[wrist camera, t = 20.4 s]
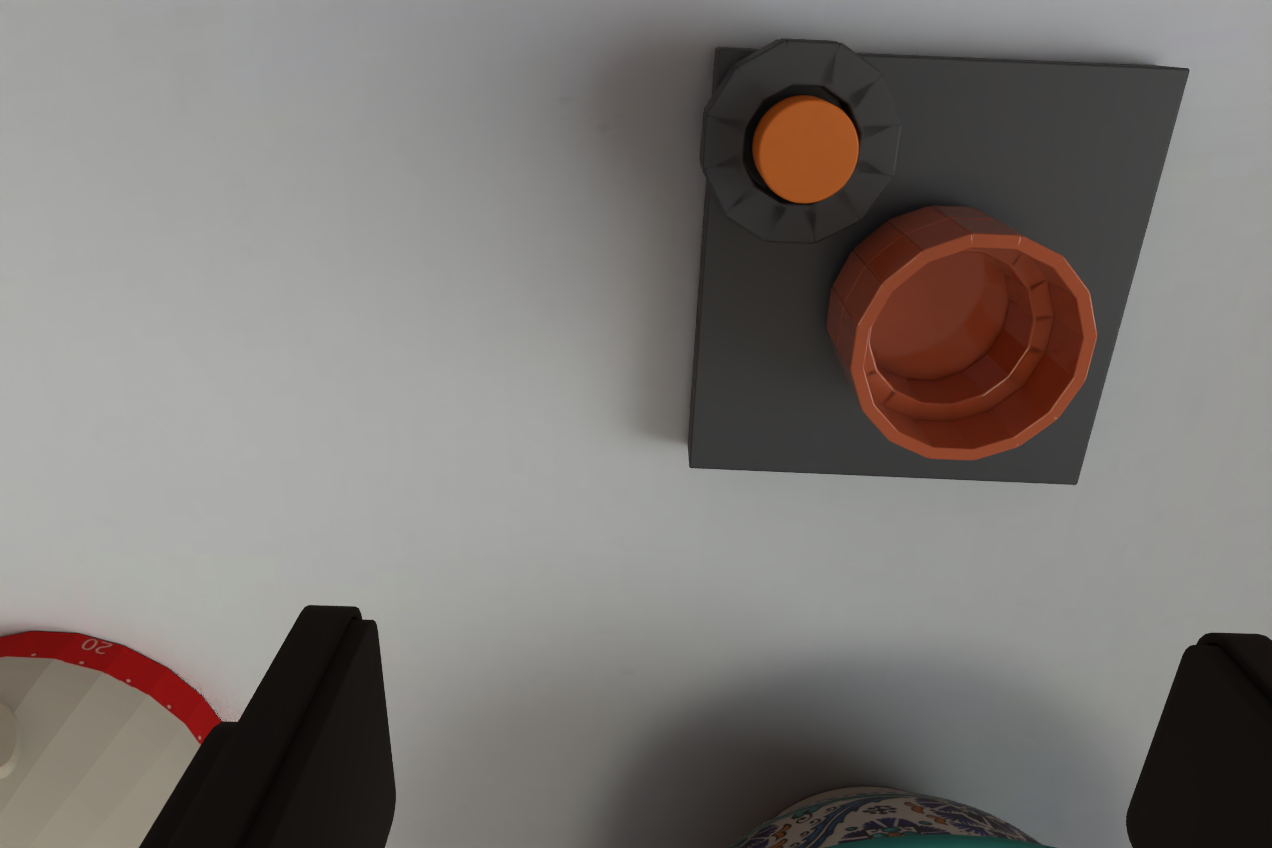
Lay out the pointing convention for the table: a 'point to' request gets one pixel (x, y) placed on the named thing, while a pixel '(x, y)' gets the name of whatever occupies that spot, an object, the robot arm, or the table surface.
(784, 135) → the button
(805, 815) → the bowl
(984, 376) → the terracotta bowl
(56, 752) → the kitchen timer
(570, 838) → the table surface
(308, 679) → the robot arm
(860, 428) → the scale
